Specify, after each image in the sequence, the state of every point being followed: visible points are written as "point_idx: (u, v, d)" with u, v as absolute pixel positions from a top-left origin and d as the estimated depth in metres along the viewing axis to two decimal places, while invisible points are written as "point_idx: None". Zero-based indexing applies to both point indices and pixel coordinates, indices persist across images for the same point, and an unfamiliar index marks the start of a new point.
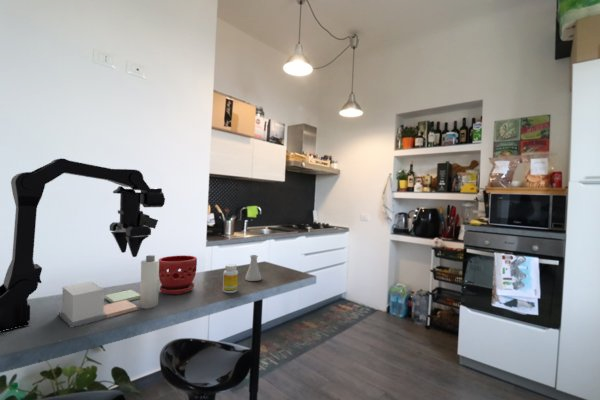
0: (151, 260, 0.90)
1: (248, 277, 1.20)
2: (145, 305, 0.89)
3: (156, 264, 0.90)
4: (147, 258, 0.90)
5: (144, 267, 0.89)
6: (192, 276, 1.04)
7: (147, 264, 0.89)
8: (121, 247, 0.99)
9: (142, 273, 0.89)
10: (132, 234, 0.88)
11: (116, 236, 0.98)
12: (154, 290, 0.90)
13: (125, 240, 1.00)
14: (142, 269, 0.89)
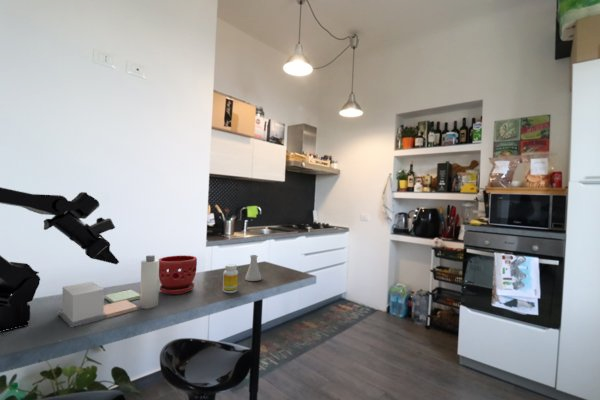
0: (151, 260, 0.90)
1: (248, 277, 1.20)
2: (145, 305, 0.89)
3: (156, 264, 0.90)
4: (147, 258, 0.90)
5: (144, 267, 0.89)
6: (192, 276, 1.04)
7: (147, 264, 0.89)
8: None
9: (142, 273, 0.89)
10: (91, 256, 0.85)
11: None
12: (154, 290, 0.90)
13: None
14: (142, 269, 0.89)
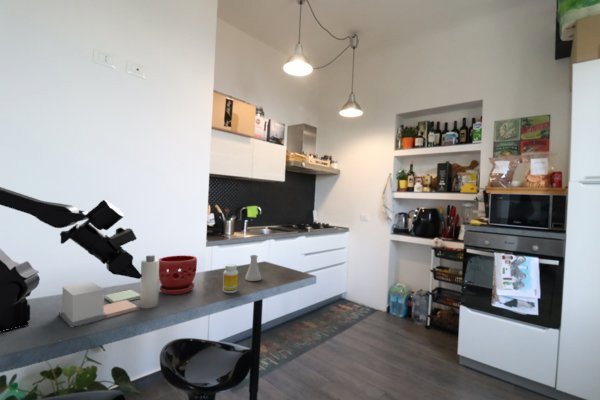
0: (151, 260, 0.90)
1: (248, 277, 1.20)
2: (145, 305, 0.89)
3: (156, 264, 0.90)
4: (147, 258, 0.90)
5: (144, 267, 0.89)
6: (192, 276, 1.04)
7: (147, 264, 0.89)
8: None
9: (142, 273, 0.89)
10: (114, 272, 0.77)
11: None
12: (154, 290, 0.90)
13: None
14: (142, 269, 0.89)
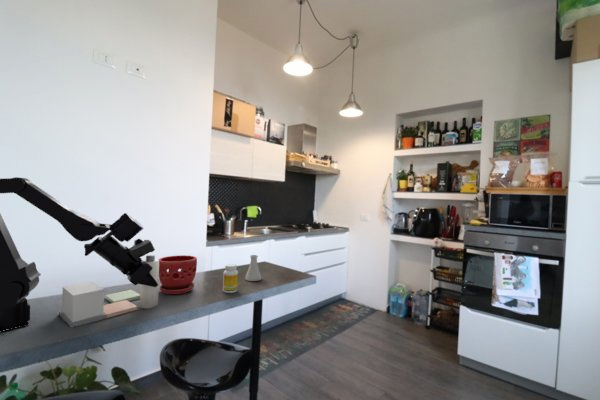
0: (151, 260, 0.90)
1: (248, 277, 1.20)
2: (145, 305, 0.89)
3: (156, 264, 0.90)
4: (147, 258, 0.90)
5: None
6: (192, 276, 1.04)
7: None
8: None
9: None
10: (135, 283, 0.80)
11: None
12: (154, 289, 0.90)
13: None
14: None
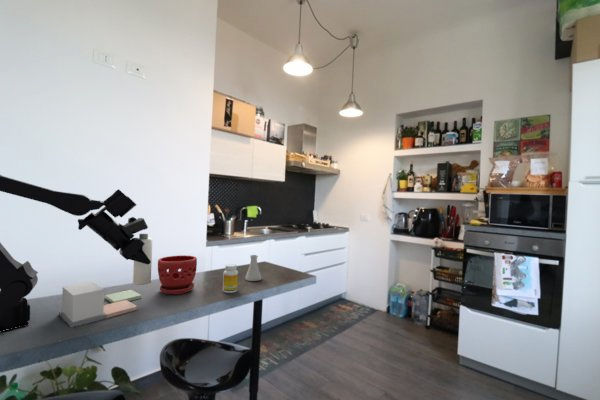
0: (144, 238, 0.91)
1: (248, 277, 1.20)
2: (138, 282, 0.90)
3: (149, 241, 0.91)
4: (140, 236, 0.91)
5: None
6: (192, 276, 1.04)
7: None
8: None
9: None
10: (127, 257, 0.81)
11: None
12: (147, 267, 0.91)
13: None
14: None
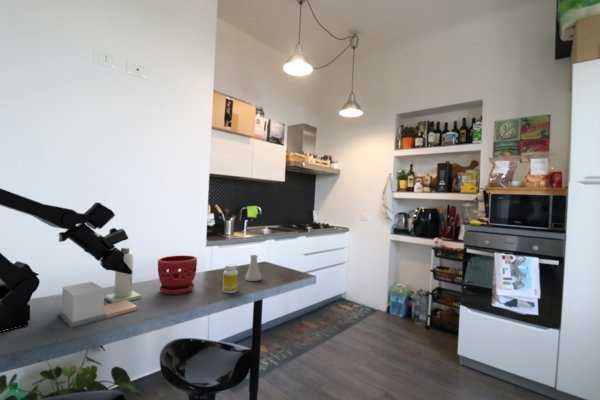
0: (125, 252, 0.95)
1: (248, 277, 1.20)
2: (118, 294, 0.94)
3: (130, 256, 0.95)
4: (122, 250, 0.95)
5: None
6: (192, 276, 1.04)
7: None
8: None
9: None
10: (107, 268, 0.85)
11: None
12: (127, 280, 0.95)
13: None
14: None
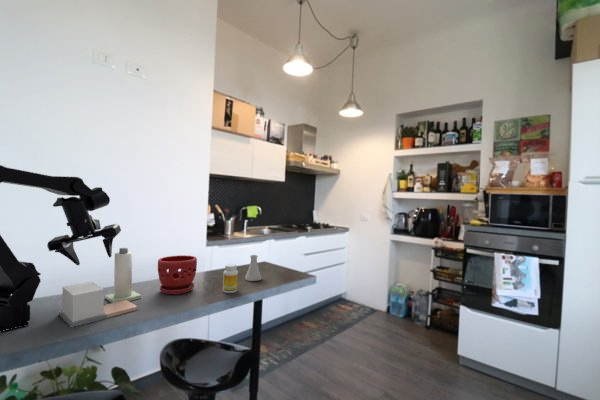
0: (124, 252, 0.95)
1: (248, 277, 1.20)
2: (118, 295, 0.94)
3: (128, 256, 0.95)
4: (120, 250, 0.95)
5: (117, 259, 0.93)
6: (192, 276, 1.04)
7: (120, 256, 0.93)
8: (76, 260, 0.92)
9: (115, 264, 0.94)
10: (116, 233, 0.93)
11: (68, 251, 0.90)
12: (127, 280, 0.95)
13: (74, 253, 0.93)
14: (115, 261, 0.94)
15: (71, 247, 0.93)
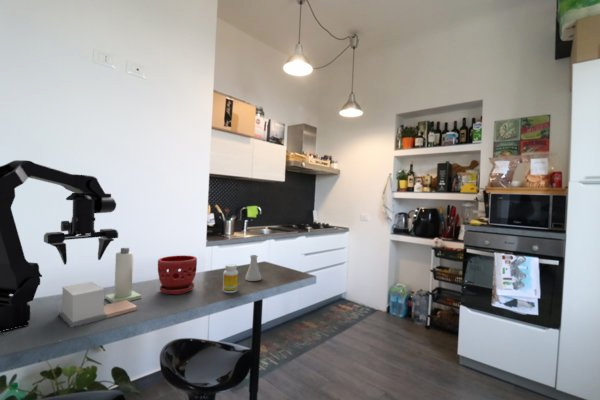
0: (125, 252, 0.95)
1: (248, 277, 1.20)
2: (118, 294, 0.94)
3: (130, 256, 0.95)
4: (121, 250, 0.95)
5: (118, 259, 0.94)
6: (192, 276, 1.04)
7: (121, 256, 0.94)
8: None
9: (116, 264, 0.94)
10: (117, 236, 1.00)
11: (65, 247, 0.89)
12: (128, 280, 0.95)
13: None
14: (116, 260, 0.94)
15: None
